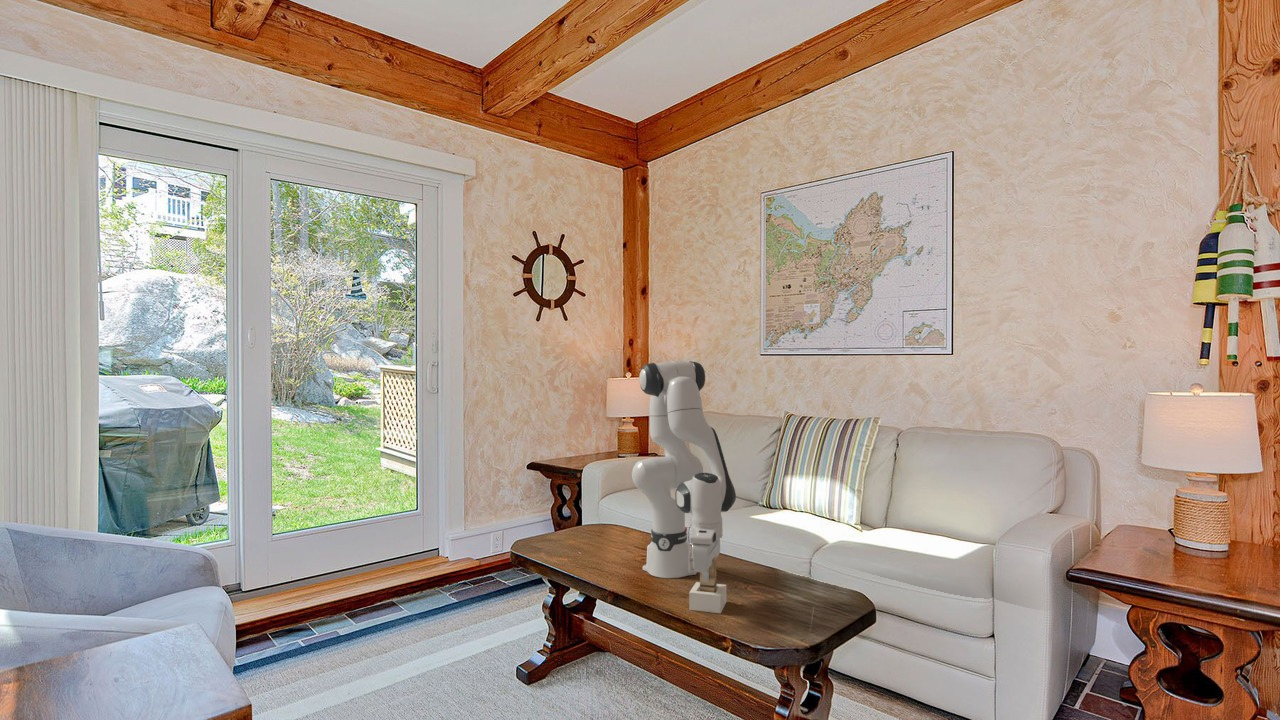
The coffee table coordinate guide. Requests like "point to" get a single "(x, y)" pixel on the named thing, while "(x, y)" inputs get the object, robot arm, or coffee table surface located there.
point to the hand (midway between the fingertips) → (708, 578)
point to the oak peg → (712, 583)
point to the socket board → (707, 599)
